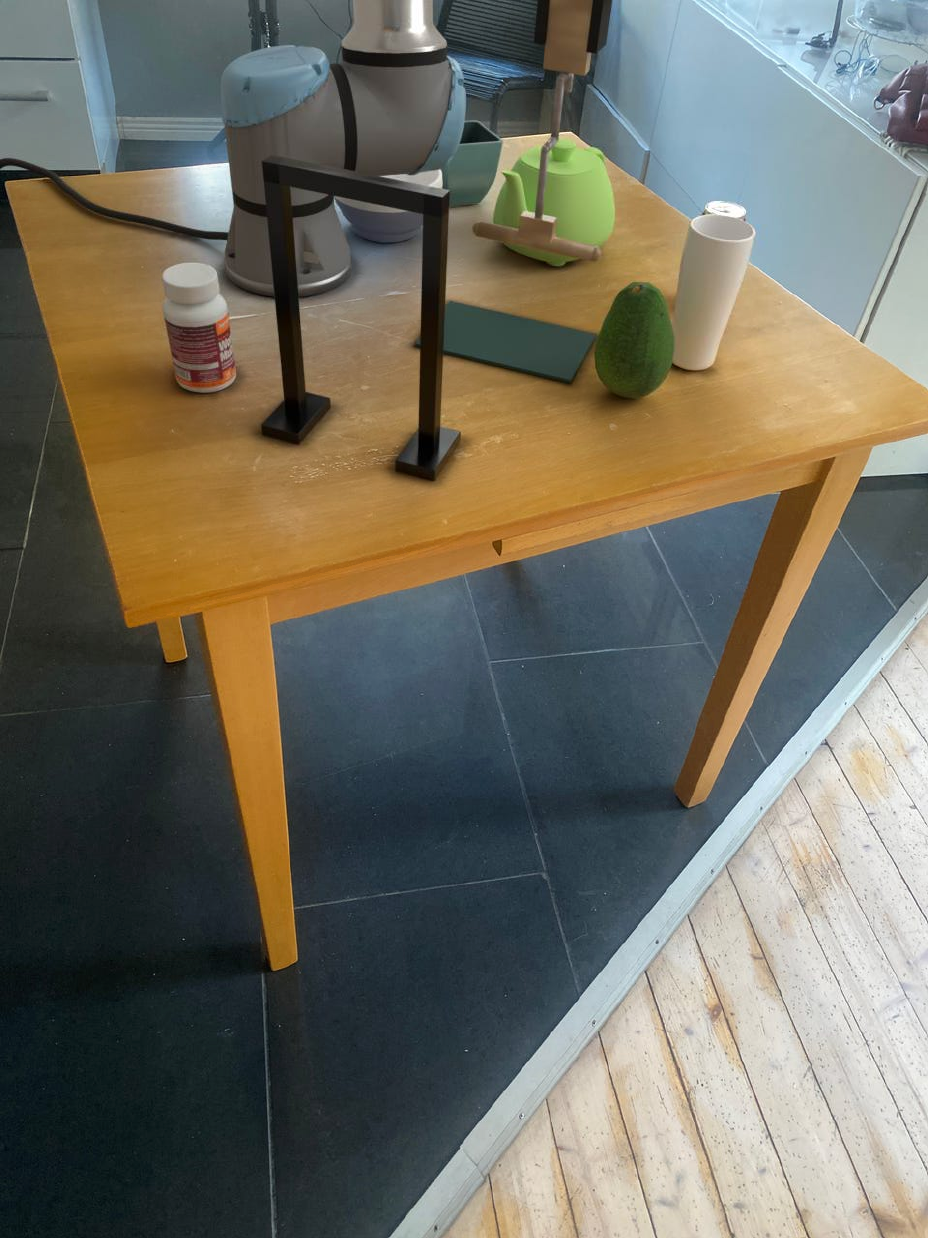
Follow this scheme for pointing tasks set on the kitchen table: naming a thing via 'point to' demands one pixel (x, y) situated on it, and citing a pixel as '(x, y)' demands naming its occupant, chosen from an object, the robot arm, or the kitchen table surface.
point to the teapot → (560, 196)
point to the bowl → (387, 213)
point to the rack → (299, 406)
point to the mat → (514, 342)
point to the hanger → (553, 131)
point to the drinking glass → (708, 286)
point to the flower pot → (472, 165)
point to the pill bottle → (198, 328)
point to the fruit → (635, 342)
